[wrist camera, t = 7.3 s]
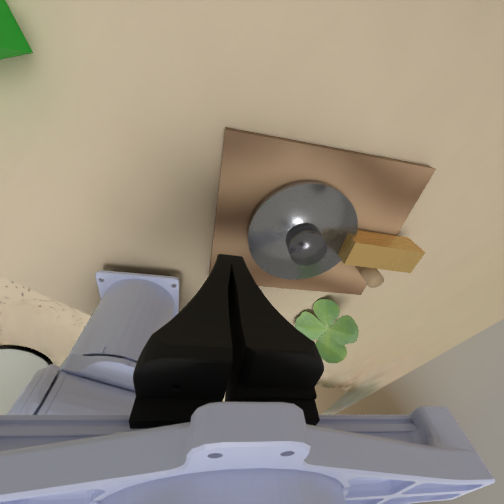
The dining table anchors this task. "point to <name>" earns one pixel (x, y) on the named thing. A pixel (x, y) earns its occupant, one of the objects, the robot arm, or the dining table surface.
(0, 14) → the mechanical part
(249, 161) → the board
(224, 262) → the robot arm
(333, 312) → the seedling
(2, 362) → the water bottle
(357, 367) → the dining table surface
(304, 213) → the pan with wooden handle
